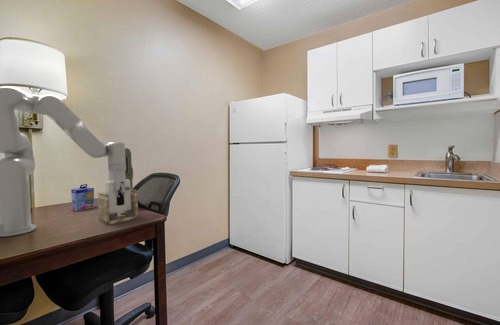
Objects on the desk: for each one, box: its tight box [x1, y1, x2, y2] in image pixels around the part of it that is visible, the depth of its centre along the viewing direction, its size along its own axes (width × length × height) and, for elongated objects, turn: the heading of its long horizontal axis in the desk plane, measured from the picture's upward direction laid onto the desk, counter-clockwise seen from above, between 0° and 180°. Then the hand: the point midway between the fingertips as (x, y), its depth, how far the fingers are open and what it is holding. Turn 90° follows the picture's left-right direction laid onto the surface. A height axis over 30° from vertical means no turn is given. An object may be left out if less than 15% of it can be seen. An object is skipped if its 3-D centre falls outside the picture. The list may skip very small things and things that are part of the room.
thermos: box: [125, 147, 134, 190], centre depth 141 cm, size 9×12×35 cm
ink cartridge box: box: [70, 183, 95, 212], centre depth 137 cm, size 10×6×14 cm, turn 155°
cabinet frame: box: [97, 188, 139, 226], centre depth 117 cm, size 14×10×14 cm
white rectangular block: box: [104, 179, 131, 216], centre depth 117 cm, size 10×5×16 cm, turn 140°
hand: (118, 203), depth 117 cm, fingers closed on white rectangular block, 4 cm apart
